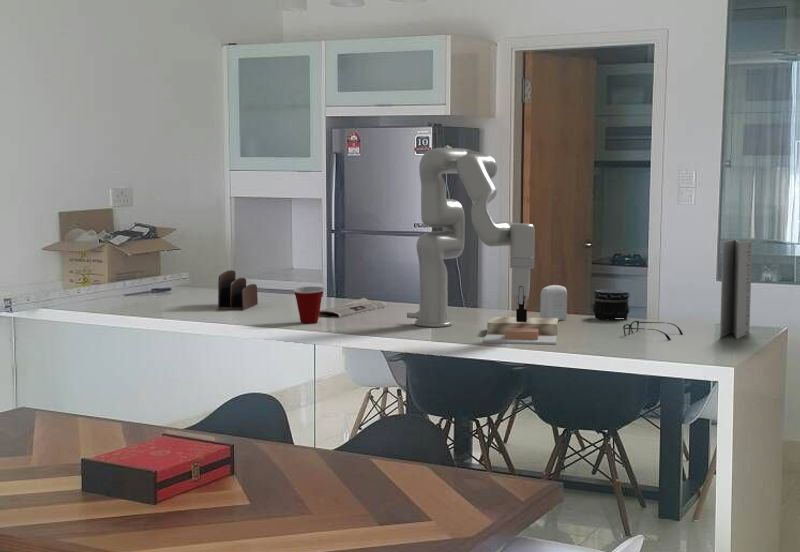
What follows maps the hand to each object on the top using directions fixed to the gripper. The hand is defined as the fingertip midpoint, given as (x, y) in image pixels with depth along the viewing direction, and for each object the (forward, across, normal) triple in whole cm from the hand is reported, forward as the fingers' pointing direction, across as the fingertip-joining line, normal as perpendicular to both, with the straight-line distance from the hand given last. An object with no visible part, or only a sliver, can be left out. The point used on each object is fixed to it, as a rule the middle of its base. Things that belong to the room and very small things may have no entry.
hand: (521, 321), depth 335 cm
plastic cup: (+5, -22, -74) cm, 77 cm away
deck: (+5, -11, 0) cm, 12 cm away
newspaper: (+6, -54, -66) cm, 86 cm away
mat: (+5, +4, 0) cm, 7 cm away
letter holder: (+6, -60, -112) cm, 127 cm away
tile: (+3, +4, 0) cm, 5 cm away
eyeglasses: (+6, -12, +41) cm, 43 cm away
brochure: (+5, -17, +67) cm, 69 cm away
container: (+5, -50, +29) cm, 58 cm away
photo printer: (+5, -42, +9) cm, 43 cm away
